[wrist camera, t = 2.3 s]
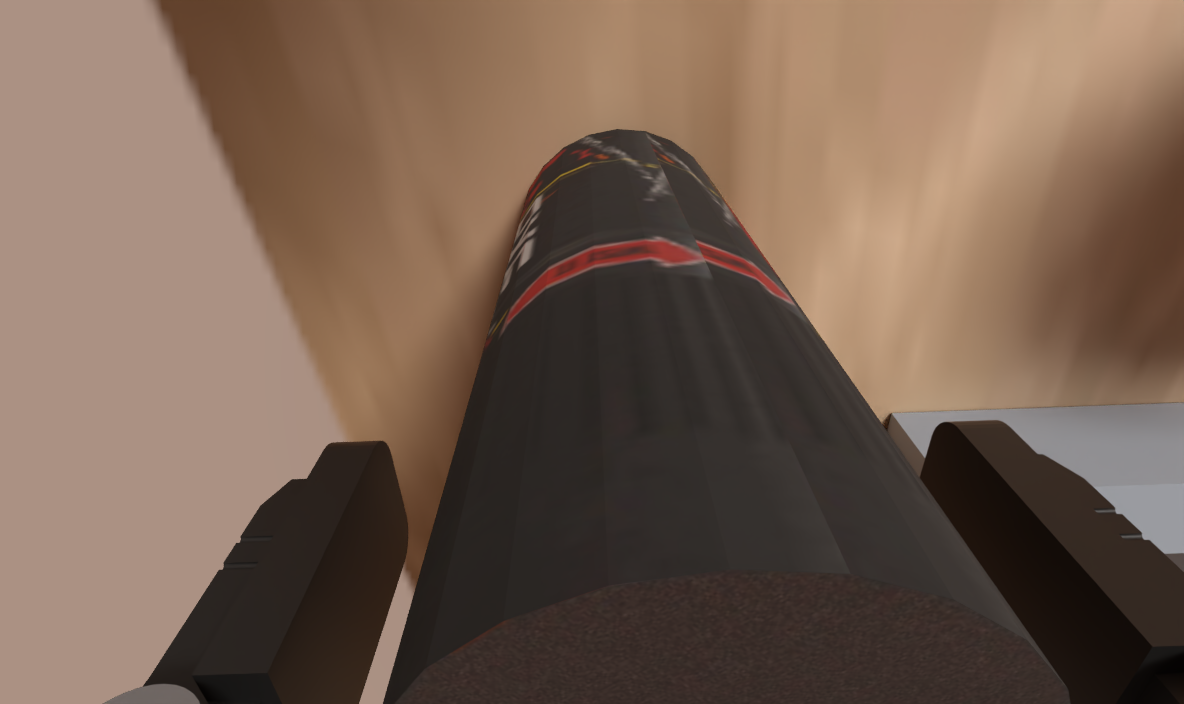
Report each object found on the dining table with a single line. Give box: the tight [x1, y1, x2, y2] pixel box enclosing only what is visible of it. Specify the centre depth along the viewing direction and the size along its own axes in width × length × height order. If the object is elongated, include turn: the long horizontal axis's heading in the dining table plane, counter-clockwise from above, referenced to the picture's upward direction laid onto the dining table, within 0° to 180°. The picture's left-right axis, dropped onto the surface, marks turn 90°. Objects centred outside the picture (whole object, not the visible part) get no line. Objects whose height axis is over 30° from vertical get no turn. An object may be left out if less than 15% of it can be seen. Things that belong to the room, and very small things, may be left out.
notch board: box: [887, 403, 1184, 572], centre depth 22 cm, size 9×11×4 cm
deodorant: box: [383, 129, 1071, 704], centre depth 12 cm, size 6×6×15 cm
